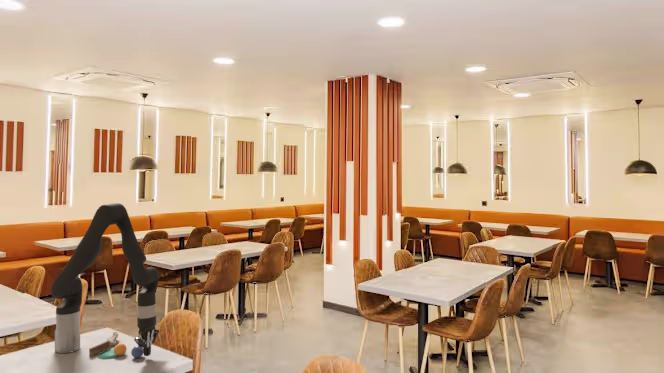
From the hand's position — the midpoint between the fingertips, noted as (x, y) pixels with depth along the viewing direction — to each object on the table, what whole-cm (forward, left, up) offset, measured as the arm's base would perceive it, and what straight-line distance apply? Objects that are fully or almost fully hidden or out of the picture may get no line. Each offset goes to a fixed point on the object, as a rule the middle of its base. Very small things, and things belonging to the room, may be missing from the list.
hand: (147, 355), depth 183 cm
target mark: (-19, 0, -2) cm, 19 cm away
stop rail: (-26, 0, -2) cm, 26 cm away
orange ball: (-14, 0, +1) cm, 14 cm away
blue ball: (-5, 0, +1) cm, 5 cm away
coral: (-29, +10, -2) cm, 31 cm away
